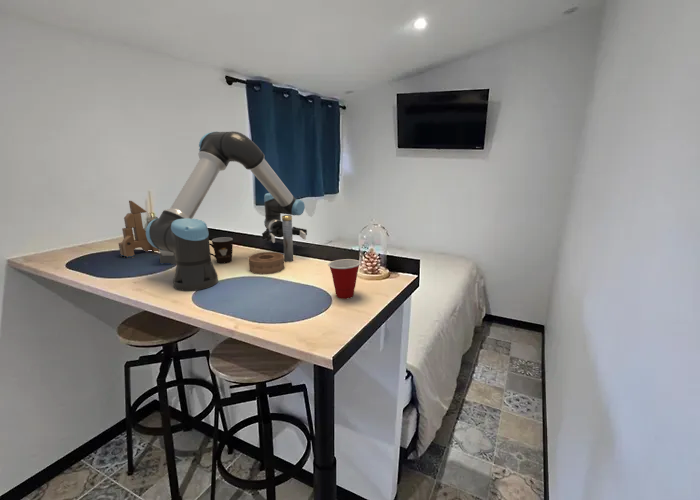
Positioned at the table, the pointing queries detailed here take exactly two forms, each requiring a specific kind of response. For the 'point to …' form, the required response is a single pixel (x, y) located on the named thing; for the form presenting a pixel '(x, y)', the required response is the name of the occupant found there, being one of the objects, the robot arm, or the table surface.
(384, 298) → the table surface
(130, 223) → the wooden toy
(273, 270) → the brown thick ring
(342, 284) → the plastic cup
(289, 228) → the metal rod
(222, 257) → the coffee mug
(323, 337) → the table surface
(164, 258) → the alarm clock
